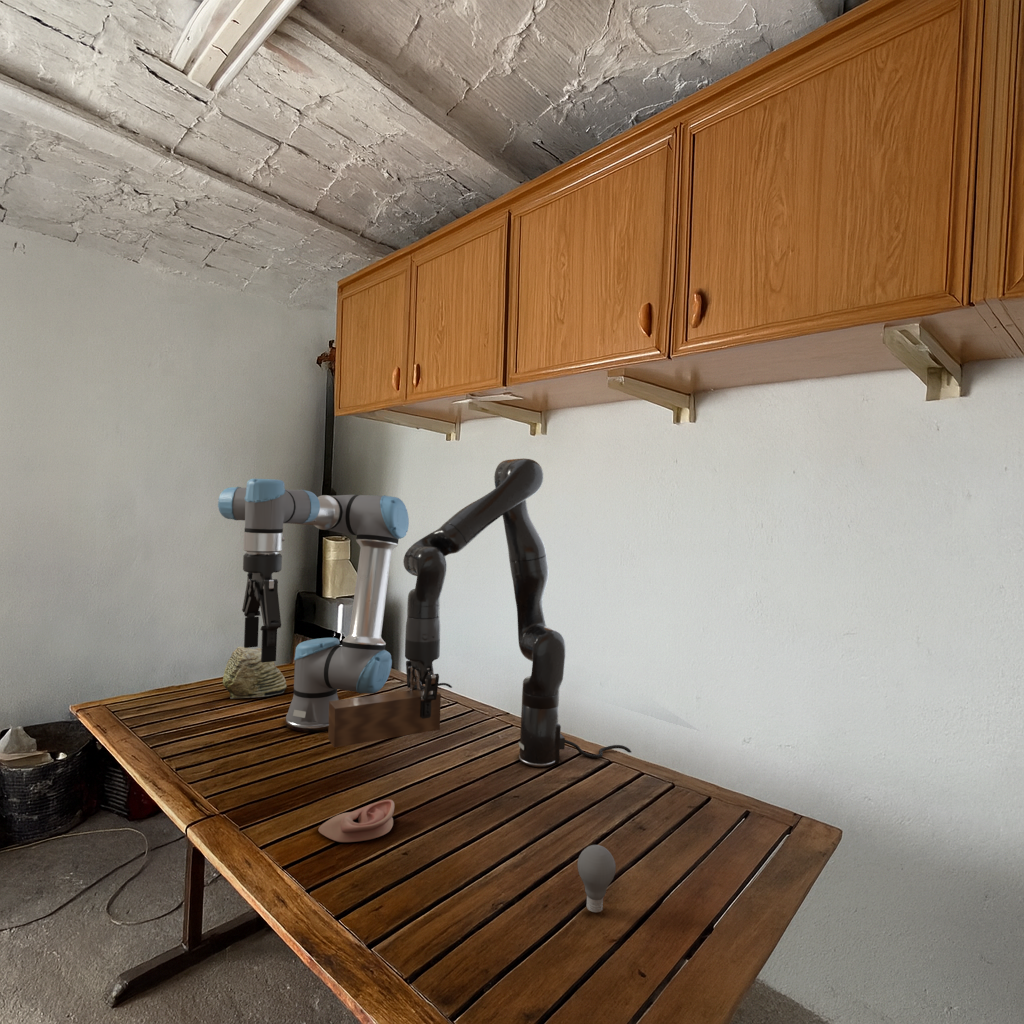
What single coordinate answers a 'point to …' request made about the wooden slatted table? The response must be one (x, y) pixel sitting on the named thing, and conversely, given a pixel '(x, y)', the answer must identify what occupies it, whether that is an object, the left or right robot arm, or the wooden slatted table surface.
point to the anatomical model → (360, 823)
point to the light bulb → (596, 874)
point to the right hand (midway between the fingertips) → (420, 713)
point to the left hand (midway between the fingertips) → (259, 654)
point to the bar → (380, 717)
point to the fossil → (252, 675)
